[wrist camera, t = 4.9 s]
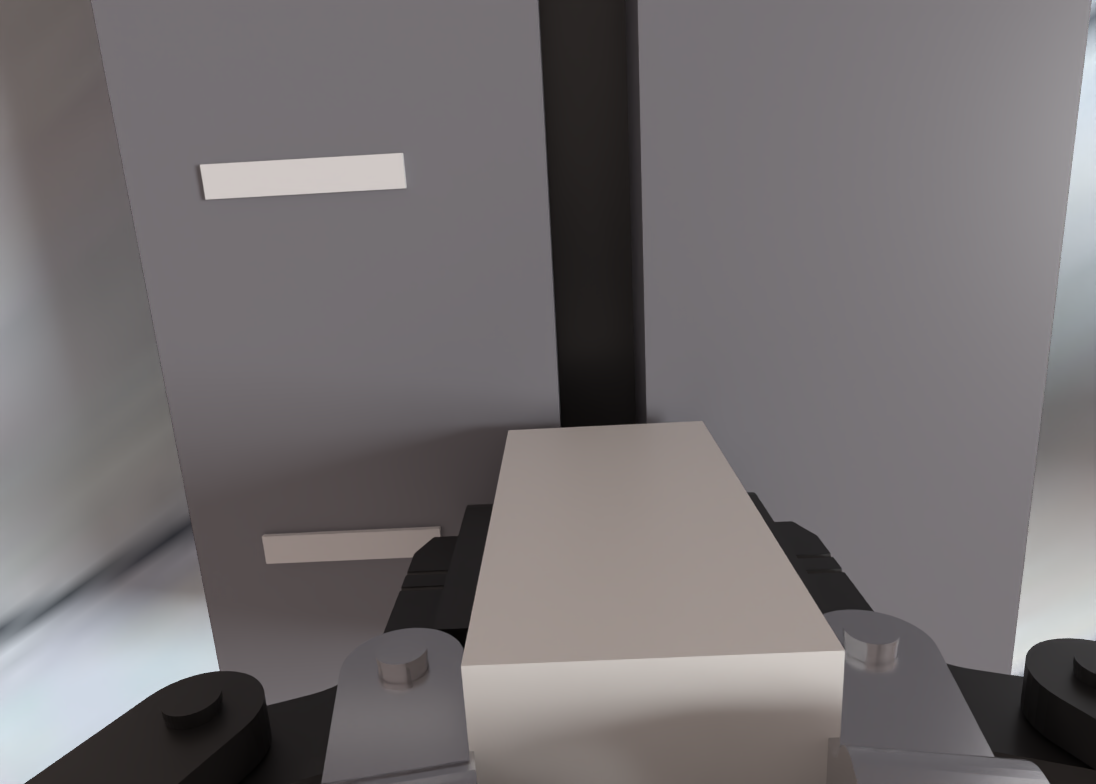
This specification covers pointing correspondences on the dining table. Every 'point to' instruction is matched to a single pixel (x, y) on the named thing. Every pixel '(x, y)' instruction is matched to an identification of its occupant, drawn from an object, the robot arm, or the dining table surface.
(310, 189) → the slider control panel
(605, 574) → the fader knob
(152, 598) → the dining table surface
